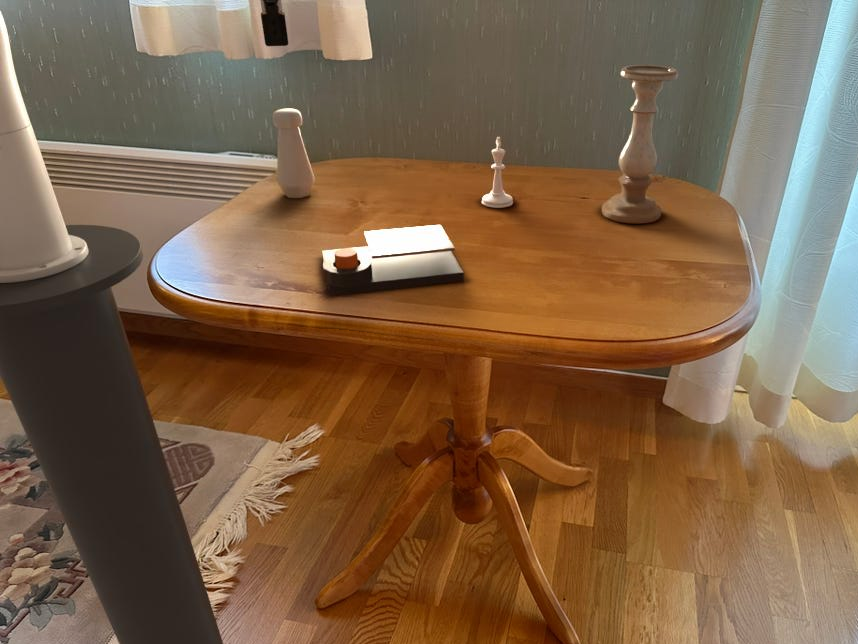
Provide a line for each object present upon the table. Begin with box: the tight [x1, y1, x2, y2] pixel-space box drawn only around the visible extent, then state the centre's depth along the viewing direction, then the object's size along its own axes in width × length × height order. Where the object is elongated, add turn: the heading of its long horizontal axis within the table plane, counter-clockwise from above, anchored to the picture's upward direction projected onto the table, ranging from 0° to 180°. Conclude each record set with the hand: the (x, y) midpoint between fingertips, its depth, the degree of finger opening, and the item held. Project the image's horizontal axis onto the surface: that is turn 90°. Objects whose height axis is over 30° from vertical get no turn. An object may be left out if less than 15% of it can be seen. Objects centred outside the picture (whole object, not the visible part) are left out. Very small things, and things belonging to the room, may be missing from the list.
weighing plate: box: [363, 224, 456, 259], centre depth 84 cm, size 10×8×1 cm
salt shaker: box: [272, 108, 315, 199], centre depth 105 cm, size 6×6×13 cm
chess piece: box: [481, 136, 514, 209], centre depth 103 cm, size 5×5×10 cm
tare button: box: [334, 247, 358, 269], centre depth 78 cm, size 3×3×2 cm
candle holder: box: [601, 64, 679, 224], centre depth 96 cm, size 9×9×20 cm
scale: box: [321, 245, 465, 297], centre depth 83 cm, size 16×12×3 cm
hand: (276, 43), depth 97 cm, fingers closed
